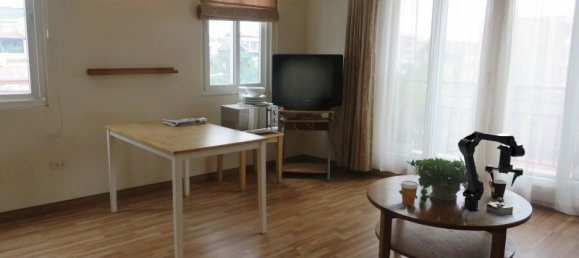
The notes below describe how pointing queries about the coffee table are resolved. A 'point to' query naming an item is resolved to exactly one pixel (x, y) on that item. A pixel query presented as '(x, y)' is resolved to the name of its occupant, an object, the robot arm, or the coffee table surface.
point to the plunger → (500, 200)
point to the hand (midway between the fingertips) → (502, 185)
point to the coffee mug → (497, 188)
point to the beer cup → (409, 192)
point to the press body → (499, 208)
